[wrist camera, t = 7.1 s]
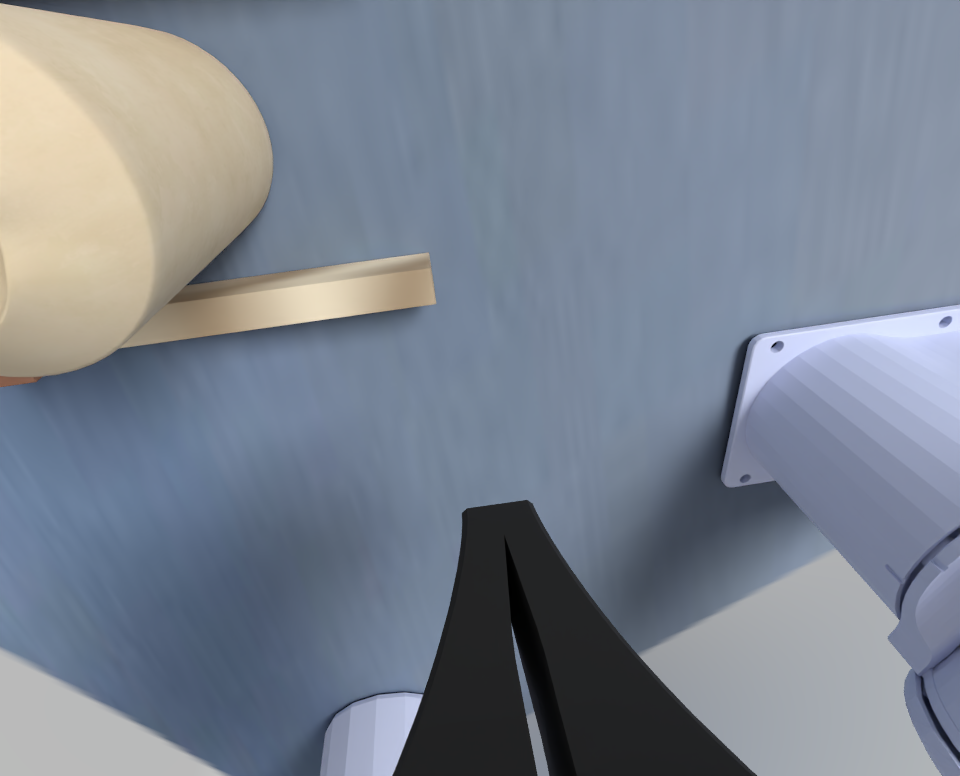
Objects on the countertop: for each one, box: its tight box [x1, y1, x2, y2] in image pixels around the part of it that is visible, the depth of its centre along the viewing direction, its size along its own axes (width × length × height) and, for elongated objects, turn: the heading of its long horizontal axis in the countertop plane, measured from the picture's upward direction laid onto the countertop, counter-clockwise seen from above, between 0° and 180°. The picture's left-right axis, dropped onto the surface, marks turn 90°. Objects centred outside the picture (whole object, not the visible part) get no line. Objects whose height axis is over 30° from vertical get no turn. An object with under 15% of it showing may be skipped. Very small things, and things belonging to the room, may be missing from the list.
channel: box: [0, 253, 436, 387], centre depth 13 cm, size 13×11×3 cm
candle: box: [0, 3, 273, 377], centre depth 10 cm, size 6×6×10 cm
